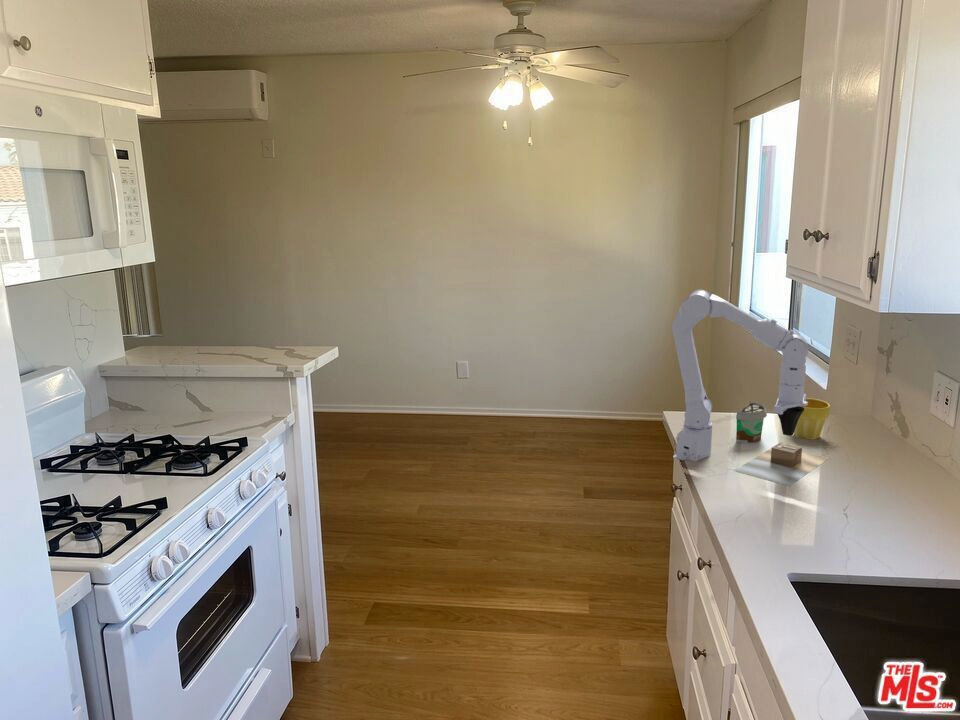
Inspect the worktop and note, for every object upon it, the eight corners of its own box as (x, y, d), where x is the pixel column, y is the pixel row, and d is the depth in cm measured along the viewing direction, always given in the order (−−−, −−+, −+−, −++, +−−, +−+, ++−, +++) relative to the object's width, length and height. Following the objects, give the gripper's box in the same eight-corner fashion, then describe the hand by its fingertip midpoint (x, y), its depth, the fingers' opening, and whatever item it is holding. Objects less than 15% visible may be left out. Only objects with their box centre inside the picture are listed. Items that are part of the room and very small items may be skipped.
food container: (757, 450, 195) (759, 415, 193) (734, 446, 199) (736, 411, 196) (770, 437, 205) (772, 404, 202) (748, 433, 208) (750, 400, 206)
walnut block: (791, 467, 181) (793, 452, 180) (770, 462, 184) (771, 447, 183) (801, 461, 184) (802, 446, 183) (779, 456, 188) (780, 441, 187)
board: (789, 490, 170) (789, 486, 170) (733, 474, 180) (733, 470, 180) (829, 461, 186) (829, 458, 186) (775, 448, 196) (776, 445, 196)
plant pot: (829, 432, 207) (832, 400, 205) (824, 444, 199) (827, 410, 196) (791, 427, 213) (793, 395, 210) (784, 438, 204) (787, 405, 202)
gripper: (795, 392, 172) (791, 445, 175) (820, 379, 182) (815, 430, 185) (766, 386, 177) (763, 439, 180) (791, 375, 186) (788, 424, 190)
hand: (787, 434), depth 183 cm, fingers closed
